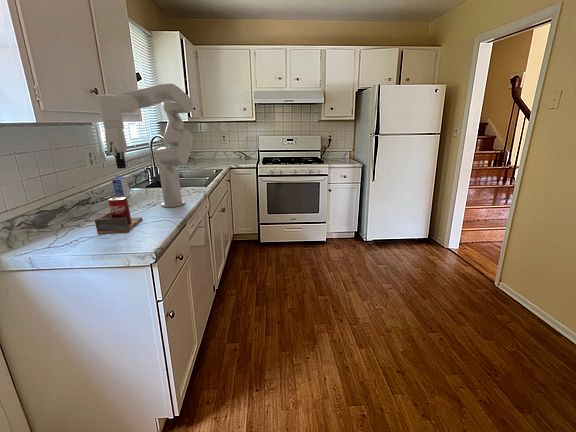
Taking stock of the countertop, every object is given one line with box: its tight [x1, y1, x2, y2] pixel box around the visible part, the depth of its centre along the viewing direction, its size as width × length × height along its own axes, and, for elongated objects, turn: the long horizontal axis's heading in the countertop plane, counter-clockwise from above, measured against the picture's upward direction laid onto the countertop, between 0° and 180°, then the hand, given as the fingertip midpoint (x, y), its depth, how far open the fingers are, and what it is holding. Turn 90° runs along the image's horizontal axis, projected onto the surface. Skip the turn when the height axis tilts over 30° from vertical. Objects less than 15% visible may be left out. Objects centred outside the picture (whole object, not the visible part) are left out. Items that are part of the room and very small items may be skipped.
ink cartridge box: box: [111, 174, 131, 199], centre depth 191 cm, size 10×6×14 cm, turn 7°
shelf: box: [94, 210, 143, 236], centre depth 136 cm, size 18×12×6 cm, turn 6°
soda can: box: [107, 196, 132, 225], centre depth 132 cm, size 7×7×12 cm
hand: (121, 168), depth 137 cm, fingers closed
